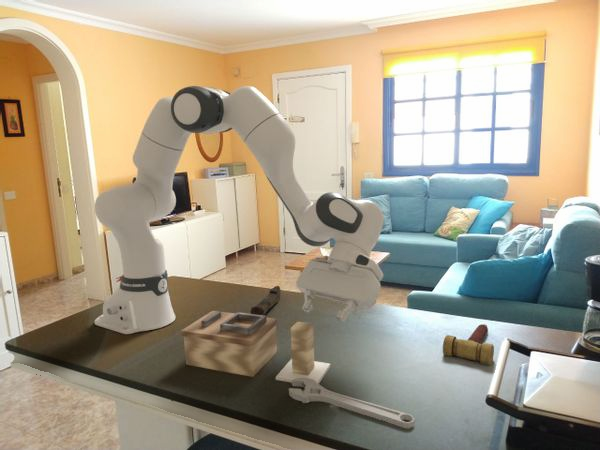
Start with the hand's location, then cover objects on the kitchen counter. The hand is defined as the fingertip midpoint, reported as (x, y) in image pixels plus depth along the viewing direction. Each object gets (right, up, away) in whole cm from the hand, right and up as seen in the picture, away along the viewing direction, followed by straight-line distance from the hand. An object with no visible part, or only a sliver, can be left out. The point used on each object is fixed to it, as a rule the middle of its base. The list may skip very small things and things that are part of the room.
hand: (322, 315), depth 98 cm
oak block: (-4, -11, -3) cm, 12 cm away
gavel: (+37, -9, +8) cm, 39 cm away
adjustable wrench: (+3, -14, -16) cm, 21 cm away
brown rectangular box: (-21, -11, +4) cm, 24 cm away
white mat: (-4, -12, -3) cm, 13 cm away
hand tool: (-15, -5, +36) cm, 39 cm away
